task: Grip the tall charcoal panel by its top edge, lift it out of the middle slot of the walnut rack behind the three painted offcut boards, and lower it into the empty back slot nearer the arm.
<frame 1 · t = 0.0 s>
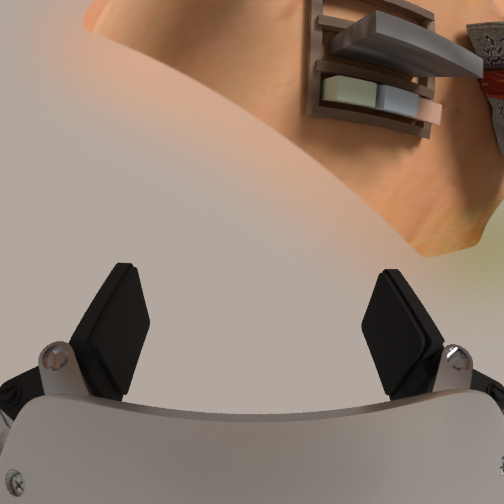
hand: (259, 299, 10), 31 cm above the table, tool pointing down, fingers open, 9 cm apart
walnut rack: (374, 56, 29), on the table
charcoal panel: (374, 57, 29), resting in walnut rack
sage offcut board: (337, 92, 33), resting in walnut rack
terracotta offcut board: (403, 107, 33), resting in walnut rack
decorative stone tablet: (491, 98, 29), on the table
slate offcut board: (372, 99, 33), resting in walnut rack
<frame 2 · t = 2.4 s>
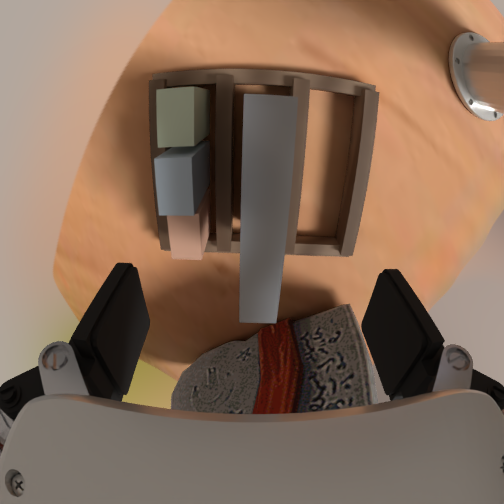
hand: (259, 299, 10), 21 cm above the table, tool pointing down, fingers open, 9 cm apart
walnut rack: (261, 163, 29), on the table
charcoal panel: (258, 163, 29), resting in walnut rack
sage offcut board: (195, 112, 26), resting in walnut rack
terracotta offcut board: (197, 208, 31), resting in walnut rack
decorative stone tablet: (260, 338, 43), on the table
slate offcut board: (196, 162, 28), resting in walnut rack
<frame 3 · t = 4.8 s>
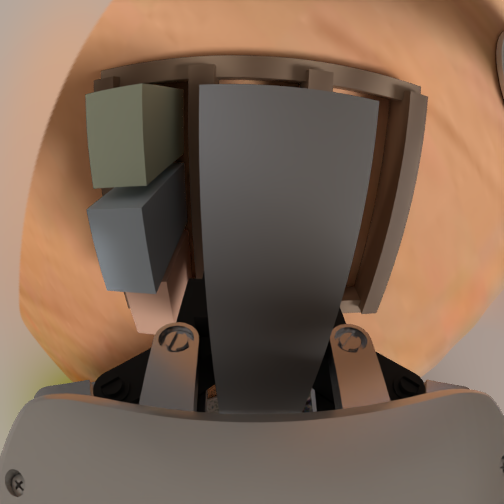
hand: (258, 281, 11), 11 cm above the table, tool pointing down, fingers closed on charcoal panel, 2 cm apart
walnut rack: (258, 194, 20), on the table
charcoal panel: (254, 194, 20), resting in walnut rack, touching gripper
sage offcut board: (163, 122, 18), resting in walnut rack
terracotta offcut board: (173, 254, 23), resting in walnut rack
slate offcut board: (166, 193, 20), resting in walnut rack
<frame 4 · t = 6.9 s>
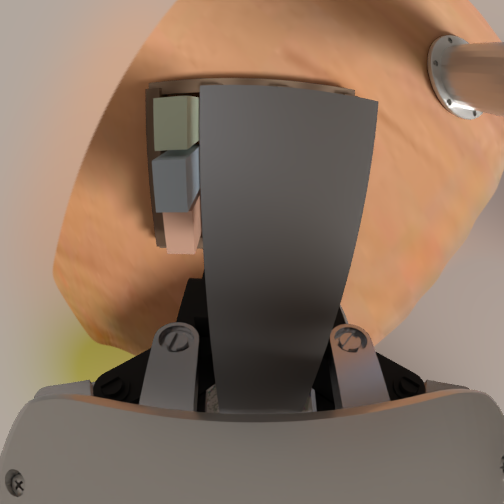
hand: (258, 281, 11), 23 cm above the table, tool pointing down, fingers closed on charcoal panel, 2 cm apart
walnut rack: (249, 164, 31), on the table
charcoal panel: (254, 194, 21), point 12 cm above the table, touching gripper
sage offcut board: (188, 118, 28), resting in walnut rack
terracotta offcut board: (190, 208, 33), resting in walnut rack
decorative stone tablet: (251, 332, 45), on the table
slate offcut board: (189, 164, 31), resting in walnut rack
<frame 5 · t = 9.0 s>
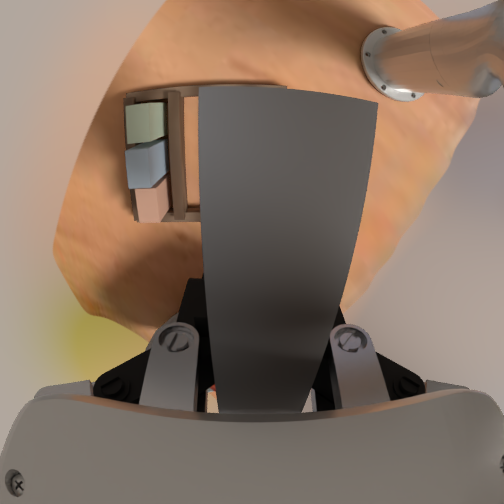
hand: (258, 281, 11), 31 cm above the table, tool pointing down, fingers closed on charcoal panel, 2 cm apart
walnut rack: (205, 153, 38), on the table
charcoal panel: (254, 194, 21), point 20 cm above the table, touching gripper
sage offcut board: (157, 119, 35), resting in walnut rack
terracotta offcut board: (161, 189, 40), resting in walnut rack
slate offcut board: (159, 155, 38), resting in walnut rack
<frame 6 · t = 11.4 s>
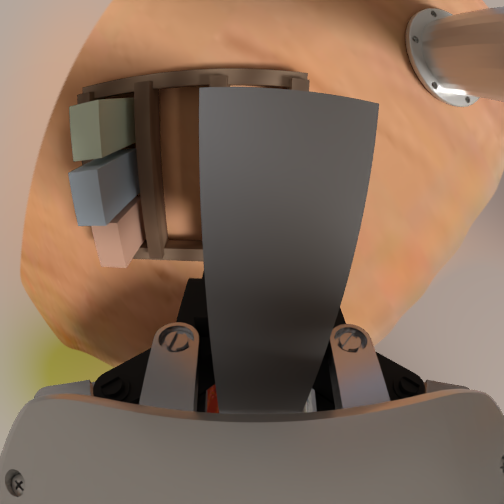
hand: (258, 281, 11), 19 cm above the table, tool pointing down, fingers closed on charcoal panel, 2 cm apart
walnut rack: (189, 167, 27), on the table
charcoal panel: (254, 195, 21), point 8 cm above the table, touching gripper
sage offcut board: (124, 121, 24), resting in walnut rack
terracotta offcut board: (133, 216, 30), resting in walnut rack
decorative stone tablet: (212, 345, 41), on the table
slate offcut board: (127, 170, 27), resting in walnut rack
when the fingers open (12 cm above the table, at t = 13.4 s): charcoal panel drops 1 cm, resting in walnut rack.
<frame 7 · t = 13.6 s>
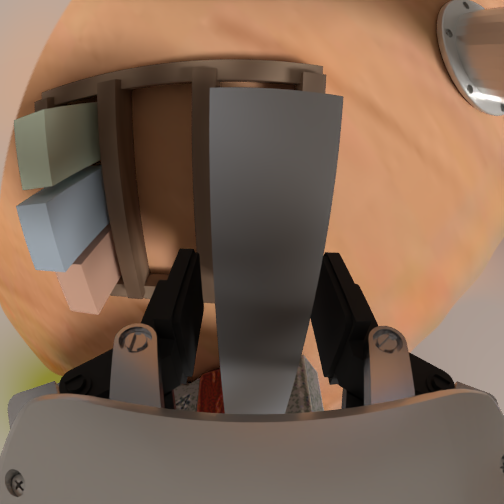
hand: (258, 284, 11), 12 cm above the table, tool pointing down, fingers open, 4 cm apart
walnut rack: (170, 188, 22), on the table
charcoal panel: (255, 188, 22), resting in walnut rack
sage offcut board: (91, 131, 19), resting in walnut rack
terracotta offcut board: (108, 245, 24), resting in walnut rack
decorative stone tablet: (206, 381, 35), on the table
slate offcut board: (98, 191, 21), resting in walnut rack
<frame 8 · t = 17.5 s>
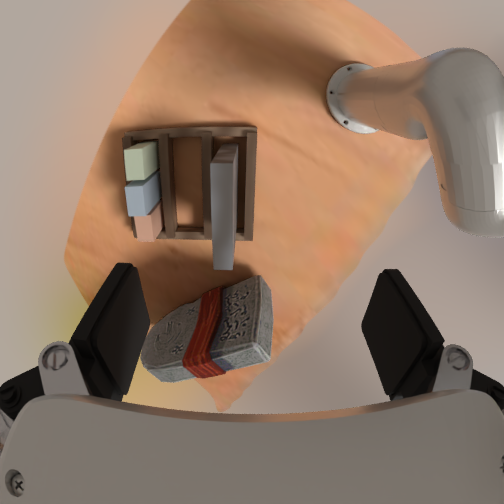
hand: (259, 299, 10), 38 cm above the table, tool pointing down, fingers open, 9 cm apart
walnut rack: (191, 183, 47), on the table
charcoal panel: (230, 183, 47), resting in walnut rack
sage offcut board: (151, 154, 44), resting in walnut rack
terracotta offcut board: (156, 212, 49), resting in walnut rack
decorative stone tablet: (205, 303, 60), on the table
slate offcut board: (153, 184, 46), resting in walnut rack
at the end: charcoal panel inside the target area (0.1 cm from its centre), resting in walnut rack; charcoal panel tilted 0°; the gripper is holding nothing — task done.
